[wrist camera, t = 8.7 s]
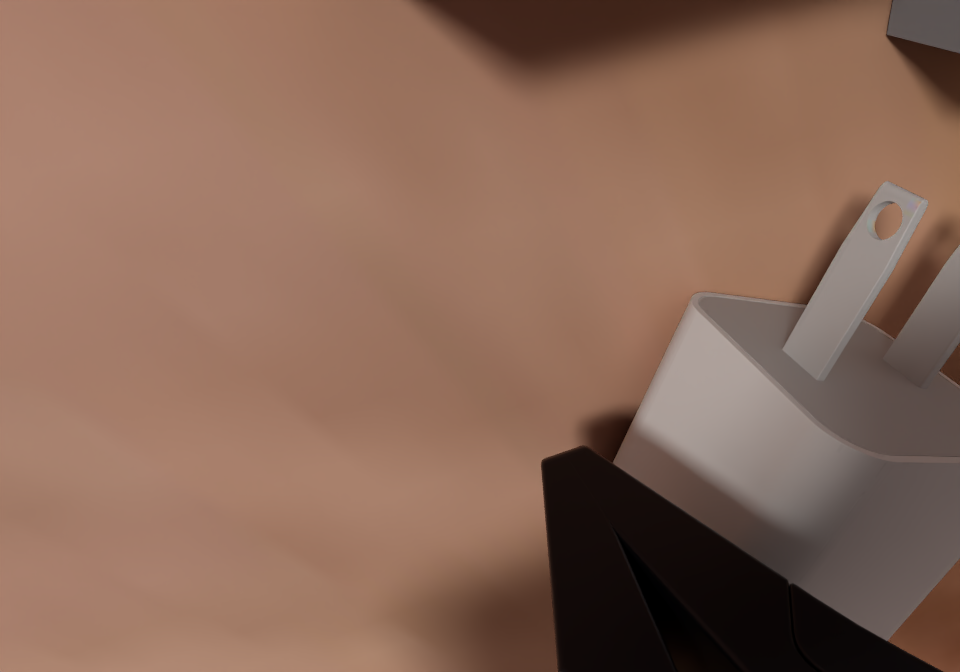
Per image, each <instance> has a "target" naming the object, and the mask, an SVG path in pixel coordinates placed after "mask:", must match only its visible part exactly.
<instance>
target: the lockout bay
mask: <svg viewBox="0 0 960 672" xmlns="http://www.w3.org/2000/svg"><path fill="white" fill-rule="evenodd" d="M887 35H890V36H894V37H898V38H902V39H906V40H910V41H914V42H918V43H922V44H925V45H929V46H933V47H937V48H941V49H945V50H949V51H953V52H957V53H960V0H893V3H892V8H891V14H890V19H889V25H888V31H887Z"/></svg>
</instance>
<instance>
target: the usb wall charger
mask: <svg viewBox="0 0 960 672" xmlns="http://www.w3.org/2000/svg"><path fill="white" fill-rule="evenodd" d="M892 203H897V204H898V205H899V206H900V208H901V210H902V214H903V219H902V223H901V226H900V228H899V229H898V231H897V232H896V233H895V234H894V235H893V236H892V237H890V238H888V239H885V240H882V239H880V238H879V237H878V236H877V234H876V231H875V221H876V218H877V216H878V214H879V212H880V211H881V210H882V209H883V208H884V207H886V206H887V205H889V204H892ZM927 206H928V201H927V200H926V199H924V198H922V197H920V196H918V195H916V194H914V193H911V192H909V191H907V190H905V189H903V188H901V187H899V186H897V185H895V184H893V183H891V182H889V181H886V182H884V183H883V184H882V185H881V186H880V187H879V189H878V190H877V192H876V193H875V195H874V196H873V198H872V200H871V201H870V203H869V204H868V206H867V207H866V209H865V210H864V212H863V213H862V215H861V216H860V218H859V219H858V221H857V222H856V224H855V225H854V227H853V228H852V230H851V231H850V233H849V234H848V236H847V237H846V239H845V240H844V242H843V244H842V245H841V247H840V249H839V250H838V252H837V254H836V256H835V257H834V259H833V261H832V263H831V264H830V266H829V268H828V270H827V271H826V273H825V275H824V277H823V278H822V280H821V282H820V284H819V285H818V287H817V289H816V291H815V292H814V294H813V296H812V298H811V299H810V301H809V303H808V305H804V304H796V303H789V302H781V301H773V300H765V299H758V298H750V297H742V296H734V295H727V294H719V293H711V292H699V293H696V294H694V295H693V296H692V297H691V299H690V301H689V304H688V306H687V308H686V310H685V312H684V314H683V316H682V318H681V320H680V323H679V325H678V327H677V329H676V331H675V333H674V335H673V337H672V339H671V341H670V344H669V346H668V348H667V350H666V352H665V354H664V356H663V358H662V360H661V362H660V365H659V367H658V369H657V371H656V373H655V375H654V377H653V379H652V381H651V383H650V386H649V388H648V390H647V392H646V394H645V396H644V398H643V400H642V402H641V404H640V407H639V409H638V411H637V413H636V415H635V417H634V419H633V421H632V423H631V425H630V428H629V430H628V432H627V434H626V436H625V438H624V440H623V442H622V444H621V447H620V449H619V451H618V453H617V455H616V457H615V459H614V461H613V464H615V465H616V466H618V467H619V468H621V469H622V470H624V471H625V472H627V473H628V474H630V475H631V476H633V477H634V478H636V479H637V480H639V481H640V482H642V483H643V484H645V485H646V486H648V487H649V488H651V489H652V490H654V491H655V492H657V493H658V494H660V495H662V496H663V497H665V498H666V499H668V500H669V501H671V502H672V503H674V504H675V505H677V506H678V507H680V508H681V509H683V510H684V511H686V512H687V513H689V514H690V515H692V516H693V517H695V518H696V519H698V520H699V521H701V522H702V523H704V524H705V525H707V526H708V527H710V528H711V529H713V530H714V531H716V532H717V533H719V534H720V535H722V536H723V537H725V538H726V539H728V540H729V541H731V542H732V543H734V544H735V545H737V546H738V547H740V548H741V549H743V550H744V551H746V552H747V553H749V554H750V555H752V556H753V557H755V558H756V559H758V560H759V561H761V562H762V563H764V564H766V565H767V566H769V567H770V568H772V569H773V570H775V571H776V572H778V573H779V574H781V575H782V576H784V577H785V578H787V579H788V581H789V584H791V583H794V584H796V585H798V586H799V587H801V588H802V589H803V590H805V591H806V592H808V593H809V594H811V595H812V596H814V597H815V598H817V599H818V600H820V601H822V602H823V603H825V604H826V605H828V606H830V607H831V608H833V609H834V610H836V611H837V612H839V613H841V614H842V615H844V616H845V617H847V618H849V619H850V620H852V621H853V622H855V623H857V624H858V625H860V626H862V627H863V628H865V629H867V630H869V631H870V632H872V633H874V634H876V635H877V636H879V637H881V638H883V639H884V640H886V641H888V640H889V638H890V637H891V636H892V635H893V634H894V633H895V632H896V630H897V629H898V628H899V627H900V626H901V625H902V624H903V623H904V621H905V620H906V619H907V618H908V617H909V616H910V615H911V613H912V612H913V611H914V610H915V609H916V608H917V607H918V605H919V604H920V603H921V602H922V601H923V600H924V599H925V597H926V596H927V595H928V594H929V593H930V592H931V591H932V589H933V588H934V587H935V586H936V585H937V584H938V583H939V581H940V580H941V579H942V578H943V577H944V576H945V575H946V573H947V572H948V571H949V570H950V569H951V568H952V567H953V565H954V564H955V563H956V562H957V561H958V560H959V559H960V385H958V384H957V383H955V382H954V381H953V380H951V379H950V378H948V377H947V376H946V375H944V374H943V373H942V372H940V369H941V368H942V366H943V365H944V364H945V362H946V361H947V360H948V358H949V357H950V355H951V354H952V353H953V351H954V350H955V348H956V347H957V346H958V344H959V343H960V245H959V246H958V247H957V249H956V250H955V251H954V253H953V254H952V255H951V257H950V258H949V259H948V261H947V262H946V263H945V265H944V266H943V268H942V269H941V271H940V272H939V274H938V275H937V277H936V278H935V280H934V281H933V283H932V284H931V286H930V287H929V289H928V290H927V292H926V293H925V295H924V297H923V298H922V300H921V301H920V303H919V304H918V306H917V307H916V309H915V310H914V312H913V313H912V315H911V316H910V318H909V319H908V321H907V322H906V324H905V325H904V327H903V328H902V330H901V331H900V333H899V334H898V336H897V337H896V339H894V338H893V337H891V336H890V335H889V334H887V333H886V332H884V331H883V330H881V329H880V328H878V327H876V326H875V325H873V324H871V323H869V322H867V321H865V320H863V318H864V316H865V314H866V313H867V311H868V310H869V308H870V307H871V305H872V303H873V302H874V300H875V299H876V297H877V295H878V294H879V292H880V291H881V289H882V287H883V286H884V284H885V283H886V281H887V279H888V278H889V276H890V275H891V273H892V271H893V269H894V267H895V266H896V264H897V262H898V260H899V258H900V256H901V254H902V253H903V251H904V249H905V247H906V245H907V243H908V242H909V240H910V238H911V236H912V234H913V232H914V230H915V229H916V227H917V225H918V223H919V221H920V219H921V218H922V216H923V214H924V212H925V210H926V208H927Z"/></svg>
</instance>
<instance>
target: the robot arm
mask: <svg viewBox="0 0 960 672" xmlns="http://www.w3.org/2000/svg"><path fill="white" fill-rule="evenodd" d="M541 470H542V482H543V495H544V507H545V519H546V531H547V544H548V556H549V568H550V580H551V593H552V605H553V617H554V630H555V642H556V654H557V666H558V672H943V671H941V670H939V669H937V668H935V667H933V666H932V665H930V664H928V663H926V662H924V661H922V660H921V659H919V658H917V657H915V656H913V655H911V654H909V653H908V652H906V651H904V650H902V649H900V648H899V647H897V646H895V645H893V644H892V643H890V642H888V641H886V640H884V639H883V638H881V637H879V636H877V635H876V634H874V633H872V632H870V631H869V630H867V629H865V628H863V627H862V626H860V625H858V624H857V623H855V622H853V621H852V620H850V619H849V618H847V617H845V616H844V615H842V614H841V613H839V612H837V611H836V610H834V609H833V608H831V607H830V606H828V605H826V604H825V603H823V602H822V601H820V600H818V599H817V598H815V597H814V596H812V595H811V594H809V593H808V592H806V591H805V590H803V589H802V588H801V587H799V586H798V585H796V584H794V583H791V584H789V581H788V579H787V578H785V577H784V576H782V575H781V574H779V573H778V572H776V571H775V570H773V569H772V568H770V567H769V566H767V565H766V564H764V563H762V562H761V561H759V560H758V559H756V558H755V557H753V556H752V555H750V554H749V553H747V552H746V551H744V550H743V549H741V548H740V547H738V546H737V545H735V544H734V543H732V542H731V541H729V540H728V539H726V538H725V537H723V536H722V535H720V534H719V533H717V532H716V531H714V530H713V529H711V528H710V527H708V526H707V525H705V524H704V523H702V522H701V521H699V520H698V519H696V518H695V517H693V516H692V515H690V514H689V513H687V512H686V511H684V510H683V509H681V508H680V507H678V506H677V505H675V504H674V503H672V502H671V501H669V500H668V499H666V498H665V497H663V496H662V495H660V494H658V493H657V492H655V491H654V490H652V489H651V488H649V487H648V486H646V485H645V484H643V483H642V482H640V481H639V480H637V479H636V478H634V477H633V476H631V475H630V474H628V473H627V472H625V471H624V470H622V469H621V468H619V467H618V466H616V465H615V464H613V463H612V462H610V461H609V460H607V459H606V458H604V457H603V456H601V455H600V454H598V453H597V452H595V451H594V450H592V449H591V448H589V447H587V446H579V447H577V448H574V449H571V450H568V451H565V452H563V453H559V454H556V455H554V456H551V457H548V458H545V459H543V460H542V462H541Z"/></svg>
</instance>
